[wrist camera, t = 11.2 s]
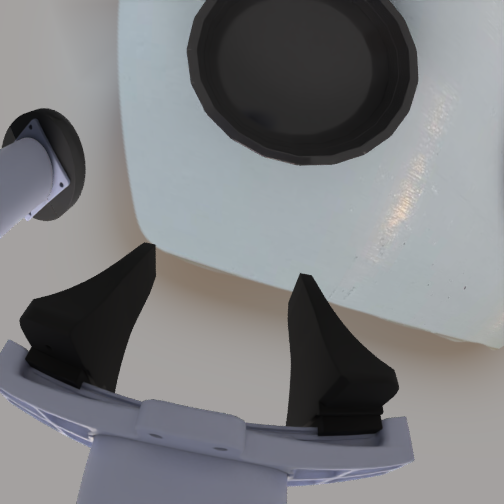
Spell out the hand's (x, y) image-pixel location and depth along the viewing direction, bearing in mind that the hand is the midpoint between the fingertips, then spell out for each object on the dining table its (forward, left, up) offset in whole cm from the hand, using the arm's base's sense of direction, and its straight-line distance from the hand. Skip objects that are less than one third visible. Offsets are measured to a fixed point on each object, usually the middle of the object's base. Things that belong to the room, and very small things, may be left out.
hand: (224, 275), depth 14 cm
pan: (+8, +8, -9) cm, 15 cm away
